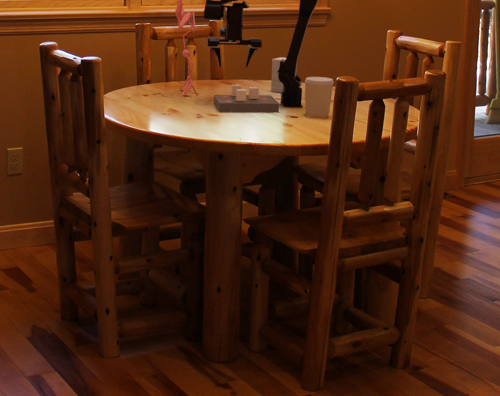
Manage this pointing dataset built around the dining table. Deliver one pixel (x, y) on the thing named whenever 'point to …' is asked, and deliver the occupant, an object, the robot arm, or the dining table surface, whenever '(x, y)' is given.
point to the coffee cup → (318, 96)
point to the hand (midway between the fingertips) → (233, 67)
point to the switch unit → (246, 104)
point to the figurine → (182, 21)
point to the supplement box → (276, 76)
